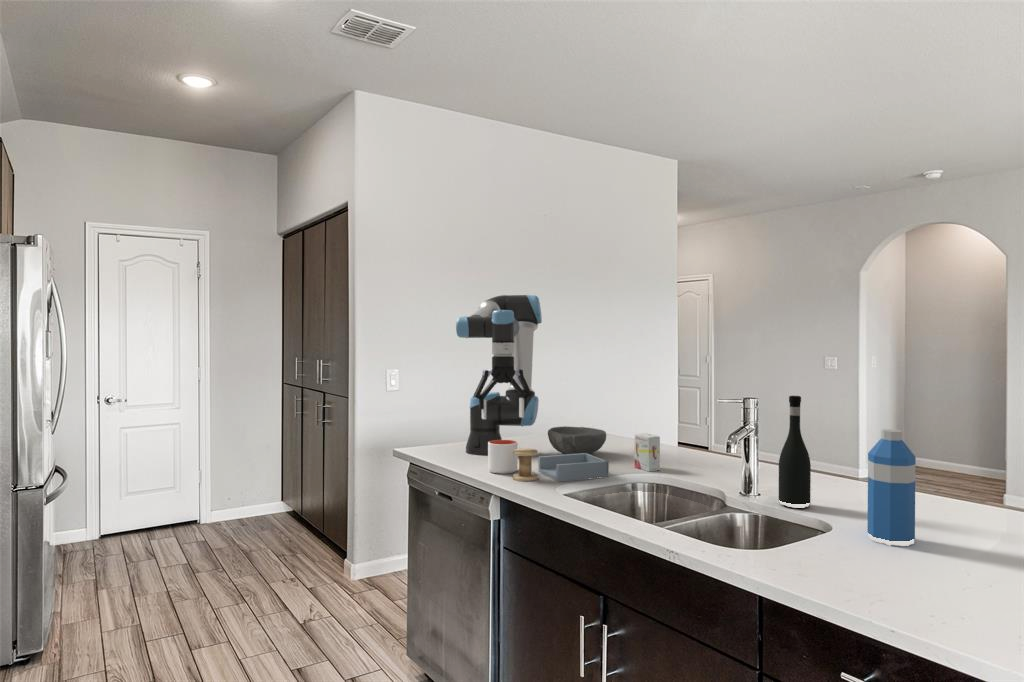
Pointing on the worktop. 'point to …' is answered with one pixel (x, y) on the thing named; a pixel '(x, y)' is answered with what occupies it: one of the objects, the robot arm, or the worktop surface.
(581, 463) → the notch board
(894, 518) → the water bottle
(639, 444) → the ink box
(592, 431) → the bowl
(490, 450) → the cup
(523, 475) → the bobbin
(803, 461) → the wine bottle
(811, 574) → the worktop surface
